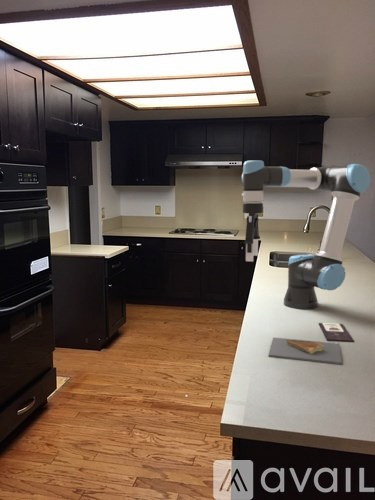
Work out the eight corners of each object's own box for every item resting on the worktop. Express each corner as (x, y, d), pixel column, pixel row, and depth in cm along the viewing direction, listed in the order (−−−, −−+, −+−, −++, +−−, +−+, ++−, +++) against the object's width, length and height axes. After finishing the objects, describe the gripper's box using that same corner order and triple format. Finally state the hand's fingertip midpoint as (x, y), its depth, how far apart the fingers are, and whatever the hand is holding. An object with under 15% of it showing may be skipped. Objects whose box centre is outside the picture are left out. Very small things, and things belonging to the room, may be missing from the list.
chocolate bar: (326, 339, 144) (318, 322, 161) (326, 341, 144) (318, 325, 161) (353, 340, 142) (342, 323, 160) (353, 343, 143) (342, 326, 160)
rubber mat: (273, 338, 146) (273, 337, 146) (338, 345, 139) (338, 343, 139) (268, 356, 131) (268, 354, 131) (341, 364, 124) (341, 362, 124)
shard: (285, 343, 140) (285, 338, 139) (301, 339, 143) (301, 334, 143) (309, 354, 130) (309, 349, 130) (326, 350, 134) (326, 344, 134)
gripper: (247, 201, 167) (247, 252, 170) (237, 203, 143) (236, 263, 146) (266, 201, 165) (265, 253, 168) (259, 203, 141) (257, 264, 144)
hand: (252, 258), depth 157 cm, fingers open, 13 cm apart
